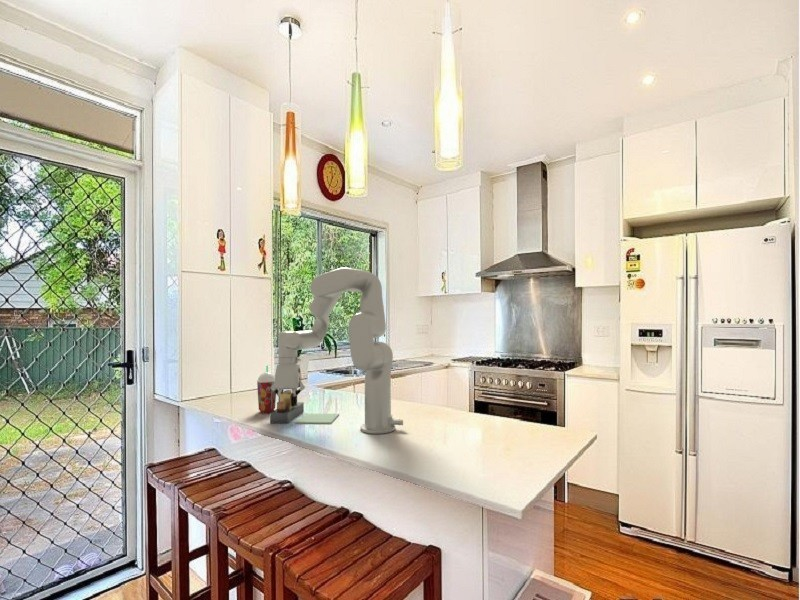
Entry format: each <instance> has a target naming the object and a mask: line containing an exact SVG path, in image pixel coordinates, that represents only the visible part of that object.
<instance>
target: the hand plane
mask: <svg viewBox="0 0 800 600" xmlns="http://www.w3.org/2000/svg"><path fill="white" fill-rule="evenodd" d="M304 405H305V403H304V402H302V401H297V404H296V406H295V407H293V408H292V409H291V407H285V402H279V401H277V402H276V408H275V409H274V411H273V412H271V413H269V424H280V425H281V424H283V425H284V424H289V423H290V422H292V421H293V420H294V419H296V418H297V417H298V416H300V415H301V414H303V413H304V412H305V411H304V407H305V406H304Z"/></svg>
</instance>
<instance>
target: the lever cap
mask: <svg viewBox="0 0 800 600" xmlns="http://www.w3.org/2000/svg"><path fill="white" fill-rule="evenodd" d="M292 397H293V393H292V389H285V390H283V393H281V394H279V397H278V402H285V407H291V409H292V408H293V407H295V406H296V405H295V406H292Z"/></svg>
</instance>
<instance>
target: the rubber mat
mask: <svg viewBox="0 0 800 600" xmlns="http://www.w3.org/2000/svg"><path fill="white" fill-rule="evenodd" d="M339 416H340V413H305V414H304V415H303V416H301V417H300V418H299V419H297V420H296V421H295V424H297V425H302V424H303V425H304V424H305V425H312V424H314V425H332V424H333V423H334V422H335V420H336V419H337V418H338V417H339Z"/></svg>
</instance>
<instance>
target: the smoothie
mask: <svg viewBox="0 0 800 600" xmlns="http://www.w3.org/2000/svg"><path fill="white" fill-rule="evenodd" d="M265 367H266V368H265V370H266V371H264V372H263V373H261V374H260V375H259V377H258V378H257V380H256V381H257V383H256V387H257V404H258V411H259V413H260V414H270V413H271V412H273V411H274V410H276V403H277V402H276V400H277V394H276V393H275V392H274V391H273V390H272V389H271V386H272V385H273V383H274V382H275V374H274V373H272V372H271V371H269V365H266V366H265Z"/></svg>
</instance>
